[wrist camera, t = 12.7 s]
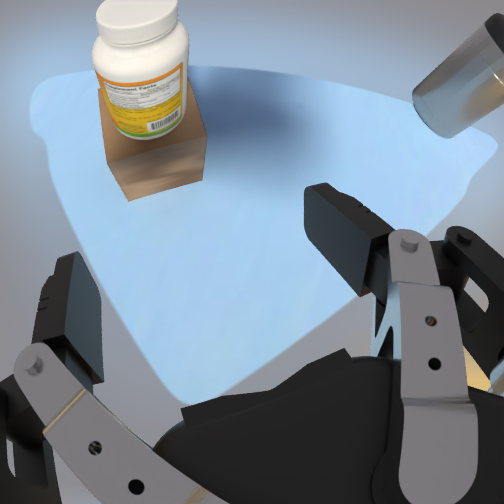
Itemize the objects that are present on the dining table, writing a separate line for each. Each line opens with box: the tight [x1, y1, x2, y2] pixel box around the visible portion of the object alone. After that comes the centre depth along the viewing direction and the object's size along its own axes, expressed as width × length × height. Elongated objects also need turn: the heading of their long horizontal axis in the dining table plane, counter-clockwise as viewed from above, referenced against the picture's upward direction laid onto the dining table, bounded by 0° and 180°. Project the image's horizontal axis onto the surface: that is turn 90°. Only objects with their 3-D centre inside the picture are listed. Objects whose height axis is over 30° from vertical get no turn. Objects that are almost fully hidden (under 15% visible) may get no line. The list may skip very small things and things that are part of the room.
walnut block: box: [98, 75, 207, 202], centre depth 23 cm, size 7×7×8 cm
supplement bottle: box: [92, 0, 189, 140], centre depth 14 cm, size 5×5×10 cm
